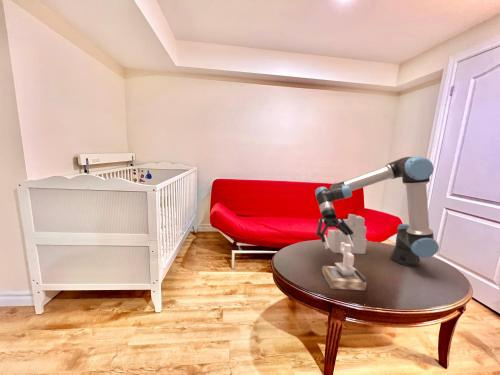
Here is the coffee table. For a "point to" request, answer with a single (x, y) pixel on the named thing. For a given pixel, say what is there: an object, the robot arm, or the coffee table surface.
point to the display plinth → (344, 279)
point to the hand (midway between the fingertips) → (339, 247)
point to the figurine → (346, 260)
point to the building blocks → (358, 235)
